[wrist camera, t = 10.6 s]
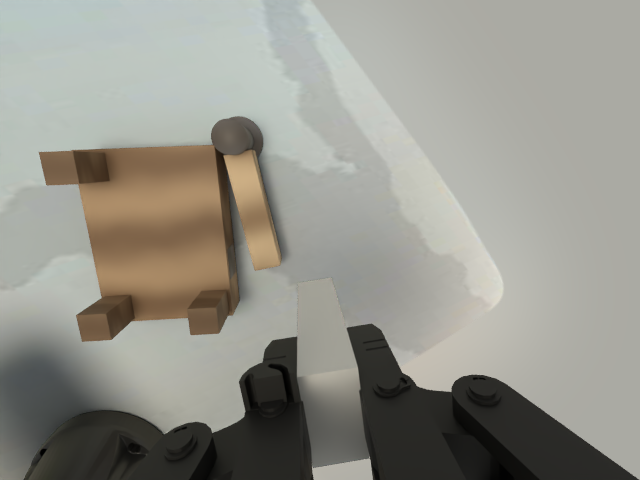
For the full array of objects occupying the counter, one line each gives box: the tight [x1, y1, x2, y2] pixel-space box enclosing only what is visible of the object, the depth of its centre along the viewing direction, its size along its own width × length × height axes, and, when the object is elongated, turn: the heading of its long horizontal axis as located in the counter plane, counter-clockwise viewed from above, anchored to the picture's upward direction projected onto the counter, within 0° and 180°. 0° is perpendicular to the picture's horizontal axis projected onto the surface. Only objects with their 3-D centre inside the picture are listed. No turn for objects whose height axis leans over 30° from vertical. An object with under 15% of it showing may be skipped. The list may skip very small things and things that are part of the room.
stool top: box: [39, 117, 263, 342], centre depth 29 cm, size 19×16×8 cm
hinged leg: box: [211, 119, 282, 271], centre depth 30 cm, size 14×3×4 cm, turn 12°
